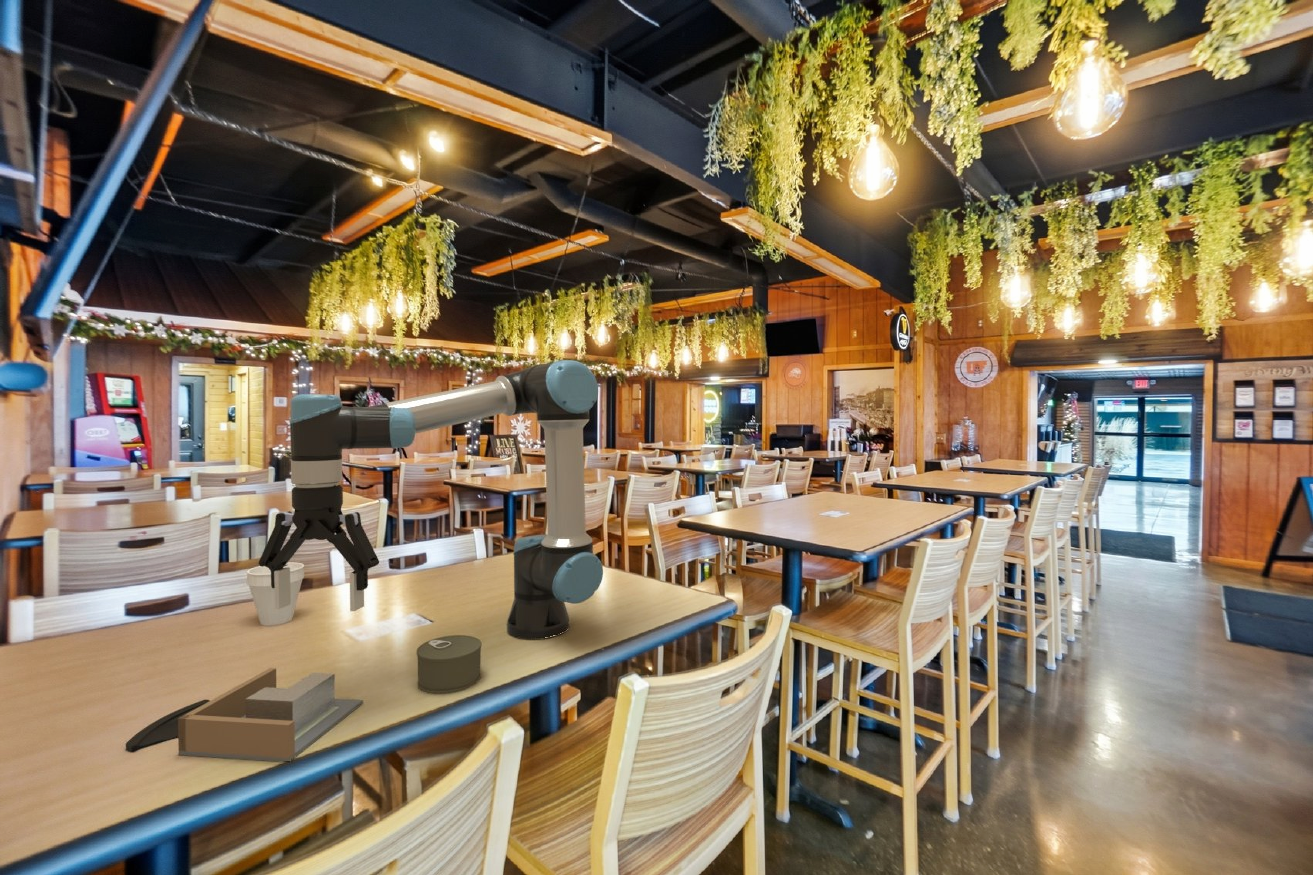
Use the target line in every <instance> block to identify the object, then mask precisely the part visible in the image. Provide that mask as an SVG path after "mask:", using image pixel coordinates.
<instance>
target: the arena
mask: <svg viewBox="0 0 1313 875" xmlns="http://www.w3.org/2000/svg"><path fill="white" fill-rule="evenodd" d="M265 687H269V688H277V668H276V667H270V668H269V667H268V668H267V669H266V670H264V671H262V672H260V673H258V674H256V675H255V676H253V677H251V678H250V679H247V680H246V681H244V682H242V683H240V684H238V685H237V686H235V687H233V688H230V690H228V691H225V692H223V693H222V694H220V695H218V696H216V697H215V698H213V699H211V700H210V701H209V702H207V703H205V704H204V705H202V706H200V707H198V708H196V709H195V710H193V711H191V712H189V713H187V714H185V715H184V716H182V717H180V718H178V738H177V739H178V742H177V743H178V744H177V745H178V756H189V757H202V758H205V757H206V758H220V759H232V760H233V759H235V760H247V759H251V761H262V760H264V762H277V761H290V760H291V759H292V760H294V759H295V758H296V757H298V754H299V753H300V754H301V753H303V752H304V751H305V750H306V749H308V748H309V747H310V746H312V745H313V744H314V743H316V742H317V741H318V740H319V739H320V738H322V737H323V736H324V735H325V734H326V733H328V732H329V731H330V730H332V728H334V727H335V726H336V725H337V723H338V722H339V723H340V722H342V721H343V720H344V719H345V718H347V717H348V716H349V715H350V714H352V713H353V712H354V711H355V710H356V709H358V708H359V707H360V706H362V705H363V704H364V700H363V699H355V698H354V699H351V698H335V708H334V709H332V710H331V711H330V712H328V713H327V714H326V715H324V716H323V717H322V718H320V719H319V720H318V721H316V722H315V723H314V724H312V725H311V726H310V727H308V728H307V729H306V730H304V731H303V732H302V733H300V734H299V735H298V736H296V737H295V727H294V721H287V720H270V719H253V718H246V698H248V697H250V696H251V695H253V694H255V693H256V692H258V691H260V690H262V689H263V688H265ZM362 703H363V704H362ZM358 706H359V707H358ZM357 707H358V708H357ZM347 715H348V716H347ZM342 719H343V720H342ZM339 723H338V724H339ZM317 739H318V740H317ZM308 746H309V747H308ZM304 749H305V750H304ZM303 750H304V751H303ZM300 754H299V755H300ZM295 756H296V757H295ZM294 757H295V758H294ZM293 758H294V759H293ZM252 759H253V760H252ZM292 760H291V761H292ZM291 761H290V762H291Z"/></svg>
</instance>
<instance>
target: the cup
mask: <svg viewBox="0 0 1313 875" xmlns="http://www.w3.org/2000/svg"><path fill="white" fill-rule="evenodd" d="M287 564H288V565H287ZM287 564H286V565H287V566H284V567H283V568H285V567H290V592H291V604H290V605H288V606H285V607H283V608H281V609H275V588H272V586H271V571H270V569H269V568H268V567H265V566H263V567H261V566H260V565H259V566H254V567H252V568H250V569H248V570H247V571H246V584H247V585H248V587H249V590H250V594H251V596H252V597H251V598H252V601H253V603H254V607H255V609H256V614H257V617H258V620H259V624H260V625H261V626H265V627H266V626H267V627H270V626H271V627H272V626H279V625H284V624H287V623H289V622H291V621H292V620H293V618H294V614H295V610H296V607H297V602H298V598H299V595H300V590H301V586H302V582H303V579H304V578H305V564H304V563H302V562H301V563H300V562H295V561H294V562H293V561H292V562H290V561H288V562H287Z"/></svg>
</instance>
